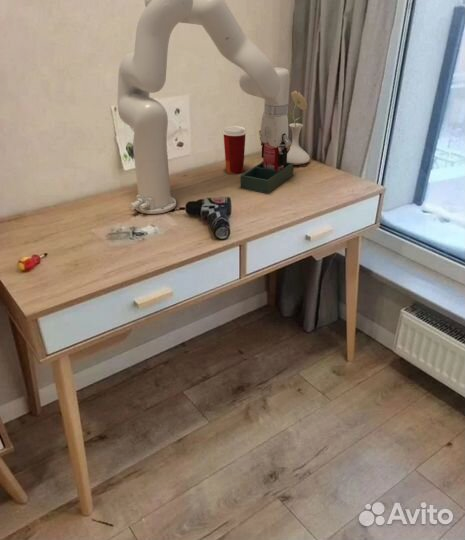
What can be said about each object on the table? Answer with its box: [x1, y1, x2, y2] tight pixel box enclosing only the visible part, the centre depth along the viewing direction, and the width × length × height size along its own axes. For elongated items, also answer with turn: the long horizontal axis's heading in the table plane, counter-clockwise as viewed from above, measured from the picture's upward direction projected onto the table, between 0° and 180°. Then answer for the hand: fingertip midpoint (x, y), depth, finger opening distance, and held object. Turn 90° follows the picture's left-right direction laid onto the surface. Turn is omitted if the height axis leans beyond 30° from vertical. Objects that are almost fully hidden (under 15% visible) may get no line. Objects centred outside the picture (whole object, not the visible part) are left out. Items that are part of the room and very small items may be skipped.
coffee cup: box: [222, 125, 247, 175], centre depth 175 cm, size 8×8×15 cm
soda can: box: [262, 141, 284, 171], centre depth 169 cm, size 7×7×12 cm
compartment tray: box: [240, 161, 294, 194], centre depth 168 cm, size 19×10×4 cm, turn 150°
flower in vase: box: [287, 90, 311, 166], centre depth 180 cm, size 13×11×25 cm
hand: (273, 161), depth 170 cm, fingers open, 9 cm apart
